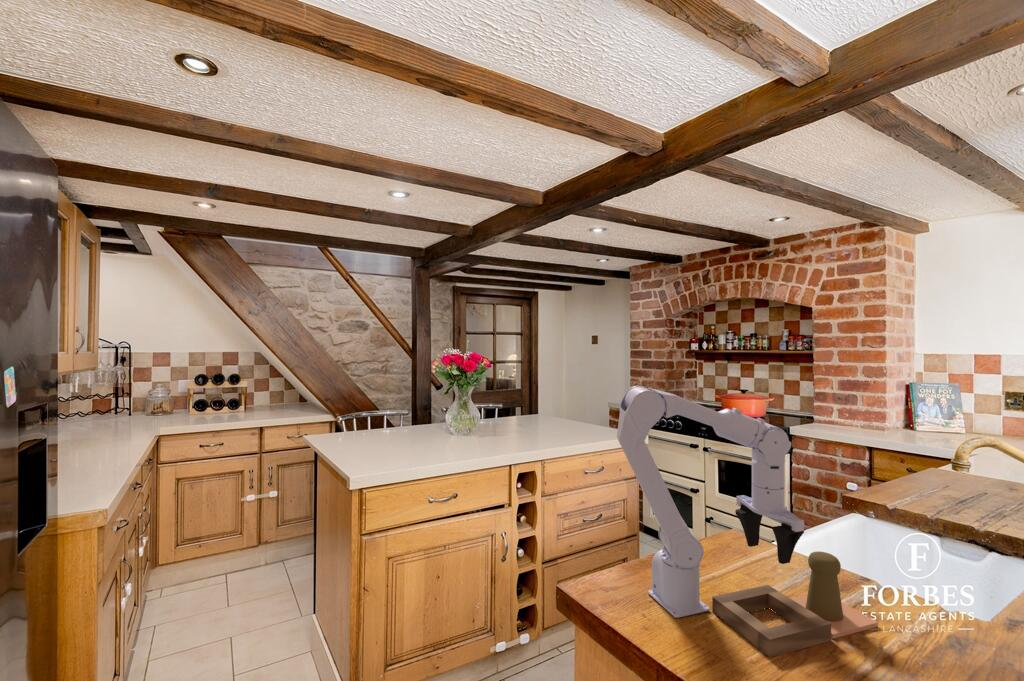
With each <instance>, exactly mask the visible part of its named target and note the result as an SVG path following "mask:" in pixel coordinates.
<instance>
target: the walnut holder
mask: <svg viewBox="0 0 1024 681" xmlns="http://www.w3.org/2000/svg"><path fill="white" fill-rule="evenodd" d="M711 599H712V600H711V601H712V602H711V603H712V613H713V614H714V615H716V616H717V617H718V616H719V617H720V618H719V617H718V618H719V619H721V620H722V619H723V620H724V621H725V622H724V621H723V620H722V621H723V622H724V623H725V624H727V625H728V626H729V625H730V626H729V627H731V628H732V629H733V630H734V631H736V632H737V631H738V632H739V633H738V632H737V633H738V634H740V635H741V636H742V637H743V636H744V637H743V638H745V639H746V640H747V641H748V642H750V643H751V644H753V645H754V646H755V647H756V648H757V649H758V650H759V651H761V652H762V653H763V654H765V655H766V656H767V657H769V658H773V657H776V656H780V655H784V654H788V653H790V652H795V651H798V650H802V649H805V648H810V647H813V646H816V645H821V644H824V643H828V642H832V638H831V623H829V622H828V621H826V620H824V619H823V618H821V617H819V616H818V615H816V614H815V613H813V612H811V611H810V610H808V609H806V608H805V607H803V606H802V605H800V604H798V603H797V602H795V601H793V600H792V599H791V597H789V596H788V595H786V594H784V593H782V592H780V591H779V590H777V589H776V588H774V587H772V586H771V585H769V584H766V585H761V586H756V587H753V588H752V587H751V588H747V589H746V588H745V589H743V590H737V591H732V592H728V593H723V594H719V595H714V596H712V598H711ZM764 608H770V609H772V610H773V611H774V612H776V613H777V614H779V615H780V616H781V617H780V616H779V615H778V616H779V617H780V618H782V617H783V618H784V619H783V618H782V619H783V620H785V621H786V622H787V621H788V622H787V623H784V624H778V625H775V626H772V627H769V626H768V625H766V624H764V623H763V622H762V621H761V620H760V619H758V618H757V617H755V616H754V615H752V613H753V612H752V611H756V610H760V611H763V610H762V609H764ZM770 609H769V610H770ZM764 610H765V609H764ZM773 611H772V612H773ZM748 612H751V613H748ZM756 612H757V611H756ZM774 612H773V613H774ZM776 613H775V614H776ZM777 614H776V615H777Z"/></svg>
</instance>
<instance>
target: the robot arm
mask: <svg viewBox="0 0 1024 681" xmlns="http://www.w3.org/2000/svg"><path fill="white" fill-rule="evenodd" d="M621 398H622V399H621V401H620V402H619V416H618V417H619V418H618V423H617V424H618V425H617V433H616V438H617V440H618V443H619V445H620V447H621V449H622V451H623V453H624V456H625V458H626V459H627V461H628V463H629V466H630V468H631V469H632V471H633V473H634V475H635V478H636V480H637V482H638V484H639V487H640V488H641V490H642V493H643V494H644V496H645V499H646V500H647V503H648V505H649V507H650V508H651V511H652V513H653V515H654V518H655V521H656V523H657V526H658V538H659V540H660V542H661V543H662V544H663V548H662V549H660V550H658V551H657V552H656V553H655V554H654V556H653V557H652V560H651V589H648V590H647V593H648V595H650V596H651V597H652V598H653V600H655V601H656V602H657V603H658V604H660V605H661V606H662V607H663V608H664V609H665V610H666V611H667V612H668V613H669V614H670V615H672V616H673V618H677V619H678V618H682V617H683V618H684V617H688V616H691V615H696V614H700V613H704V612H709V611H710V610H711V608H710V607H709V606H708V605H707V604H705V603H704V602H703V601H702V600H701V599H700V597H701V596H700V595H701V594H700V592H701V591H700V564H701V562H702V560H703V558H704V546H703V545H702V542H700V540H699V539H698V538H697V537H696V536H695V535H694V534H693V532H692V531H691V529H689V526H688V525H687V523H686V522H685V520H684V519H683V517H682V516H681V514H680V512H679V509H678V508H677V505H676V503H675V502H674V499H673V497H672V495H671V493H670V491H669V489H668V486H667V485H666V482H665V480H664V478H663V477H662V474H661V472H660V471H659V470H660V469H659V468H658V466H657V464H656V462H655V460H654V458H653V456H652V454H651V452H650V449H649V448H648V446H647V443H646V441H645V440H646V438H647V437H648V435H649V432H650V430H651V429H652V428H653V427H654V426H655V425H656V424H657V423H658V422H659V421H660V420H661V418H662V417H664V418H666V419H668V418H673V417H674V416H680V417H684V418H687V419H689V420H693V421H696V422H699V423H701V424H704V425H707V426H710V427H712V428H713V430H714V432H715V434H716V436H718V437H719V438H724V439H726V440H729V441H731V442H734V443H736V444H739V445H741V446H744V447H747V448H751V497H750V496H747V495H744V494H742V495H736V506H738V507H739V508H738V509H735V512H734V513H735V515H736V517H737V518H738V520H739V522H740V524H741V527H742V529H743V532H744V536H745V540H746V543H747V546H748V547H751V548H753V547H756V546H757V547H758V546H759V542H760V530H761V522H762V518H763V517H765V518H768V519H770V520H772V521H774V522H776V523H779V524H780V525H776V526H772V527H771V529H772V532H773V534H774V537H775V542H776V549H777V550H776V551H777V560H778V563H779V564H781V565H786V564H790V563H791V560H792V557H793V553H794V549H795V547H796V546H797V544H798V542H799V540H800V538H801V537H802V536H803V534H804V533H805V520H804V519H803V518H800V517H798V516H797V515H795V514H794V513H792V512H791V511H789V510H788V506H787V505H785V504H786V503H785V502H786V501H785V499H786V498H785V497H786V496H785V495H786V494H785V493H786V492H785V491H786V490H785V486H786V485H785V484H786V483H785V478H786V477H785V471H786V470H785V467H786V466H785V461H786V455H787V454H788V453H789V452H790V450H791V448H792V442H791V441H790V439H789V436H788V434H787V433H786V432H785V430H784V429H782V428H780V427H778V426H776V425H772V424H770V423H767V422H766V420H765V419H763V418H760V417H757V418H754V417H751V416H749V415H746V414H744V413H742V409H739V408H735V407H732V408H731V409H730V408H723V409H721V410H719V411H716V410H714V409H711V408H708V407H706V406H704V405H701V404H700V403H699V404H698V403H696V402H694V401H692V400H689V399H687V398H684V397H681V396H679V395H677V394H674V393H672V392H667V391H663V390H658V389H656V388H655V389H654V388H651V390H650V389H649V388H647V387H646V386H643V385H634V386H632V387H629V388H628V389H627V390H626V391H625V393H624V394H623V396H622V397H621Z"/></svg>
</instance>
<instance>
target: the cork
mask: <svg viewBox="0 0 1024 681" xmlns="http://www.w3.org/2000/svg"><path fill="white" fill-rule="evenodd" d="M807 563H808V564H807V565H808V566H809V568H810V569H811V571H810V577H809V578H810V579H809V582H808V583H809V584H808V589H807V595H808V596H807V602H806V609H808V610H810V611H811V612H813V613H815V614H816V615H818V616H819V617H821V618H823V619H824V620H826V621H831V622H838V621H841V620H842V619H843V610H842V604H841V602H842V598H841V591H840V585H839V579H838V578H839V577H838V576H839V575H840V573H841V569H842V566H841V562H840V560H839V559H838V558H837V556H835V555H833V554H831V553H829V552H824V551H812V552H811V553H809V556H808V558H807Z"/></svg>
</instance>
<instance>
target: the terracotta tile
mask: <svg viewBox="0 0 1024 681" xmlns="http://www.w3.org/2000/svg"><path fill="white" fill-rule="evenodd" d="M807 596H808V594H805V595H802V596H796V597H792V598H791V597H790V599H792V600H793V601H795V602H797V603H798V604H800V605H802V606H803V607H805V608H806V602H807ZM841 604H842V610H843V619H842V620H841V621H838V622H831V621H828V622H829V623H831V640H832V639H833V640H834V639H838V638H842V637H845V636H849V635H851V634H855V633H860V632H863V631H864V632H865V631H867V630H871V629H874V628H878V627H879V626H878V625H879V623H878V621H877V620H875V619H872V618H871V617H869V616H867V615H865V614H863V613H862V612H860V611H858V610H857V609H855V608H853V607H851V606H850V605H848V604H845V603H844V602H842V601H841Z"/></svg>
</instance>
